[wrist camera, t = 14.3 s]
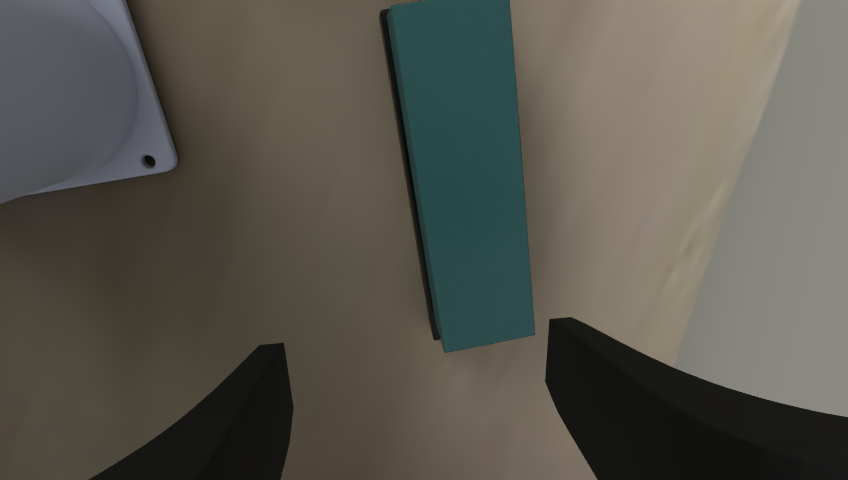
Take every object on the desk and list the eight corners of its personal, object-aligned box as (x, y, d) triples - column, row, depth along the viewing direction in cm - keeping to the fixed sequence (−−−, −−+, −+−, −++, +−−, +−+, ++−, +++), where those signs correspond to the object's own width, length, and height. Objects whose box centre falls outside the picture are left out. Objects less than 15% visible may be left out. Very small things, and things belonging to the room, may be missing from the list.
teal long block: (512, 310, 23) (541, 355, 20) (429, 326, 23) (443, 375, 19) (483, -2, 19) (514, -21, 15) (378, 14, 18) (383, -1, 15)
